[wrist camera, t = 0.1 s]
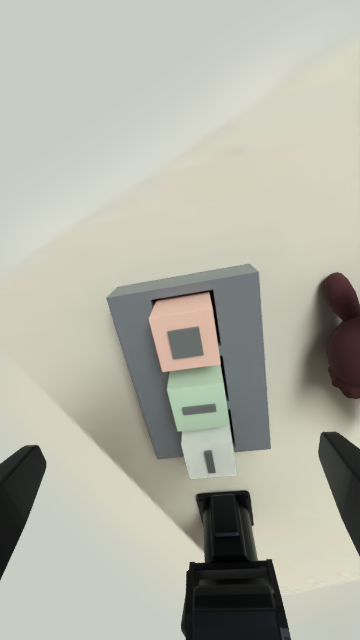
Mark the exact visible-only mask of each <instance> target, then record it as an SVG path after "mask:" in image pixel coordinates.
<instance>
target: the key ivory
mask: <svg viewBox="0 0 360 640" xmlns="http://www.w3.org/2000/svg"><path fill="white" fill-rule="evenodd" d="M181 447H182V450H183V454H184V458H185V462H186V466H187V470H188V474H189V478H190V479H200V478H213V477H226V476H237V470H236V463H235V456H234V450H233V443H232V437H231V431H230V426H227V427H218V428H208V429H198V430H188V431H182V441H181Z"/></svg>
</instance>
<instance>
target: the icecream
mask: <svg viewBox="0 0 360 640" xmlns="http://www.w3.org/2000/svg"><path fill="white" fill-rule="evenodd" d="M324 288H325V295H326V299H327V301H328V302H329V304H330V306H331V307H332V309H333V311H334V312H335V313H336V314H337V315H338V316H339V317H340V318H341V320H342V321H343V322H342V323H341V324H340V325H339V326H338V328H337V329H336V330H335V332H334V334H333V336H332V338H331V340H330V343H329V347H328V350H327V355H328V361H329V365H330V366H329V368H328V371H329V374H330V376H331V379H332V385H333V386H335V387H338V388H340V390H341V391H342V393H343V394H344V395H345V396H346V397H348V398H353V399H359V398H360V304H359V301H358V298H357V295H356V292H355V290H354V289H353V287H352V285H351V284H350V282H349V280H348V279H347V278H346V277H345V276H344V275H342V274H341V273H338V272H336V273H333V274H330V275H329V276H328V277H327V278H326V281H325V284H324Z"/></svg>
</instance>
